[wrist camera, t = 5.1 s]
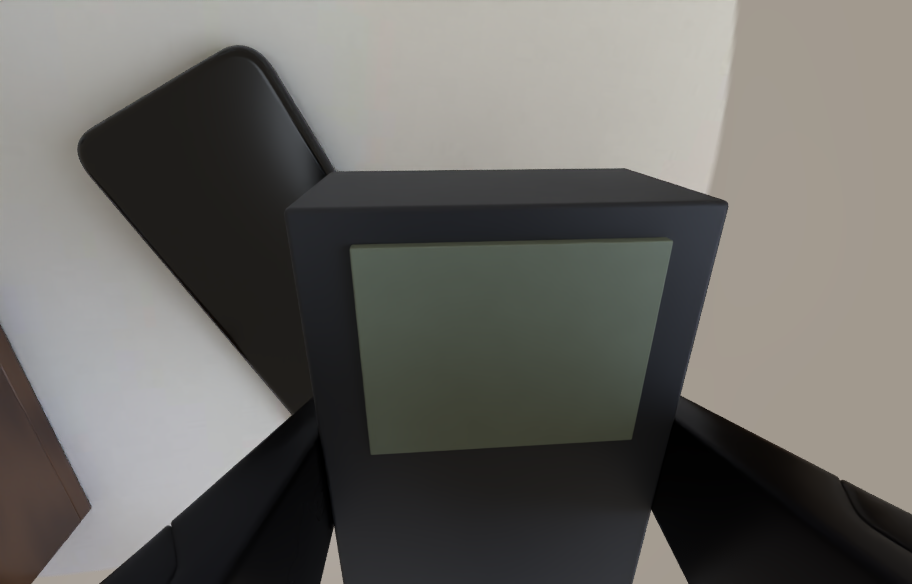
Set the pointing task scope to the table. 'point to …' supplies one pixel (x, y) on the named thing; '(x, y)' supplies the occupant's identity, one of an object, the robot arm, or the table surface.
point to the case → (31, 479)
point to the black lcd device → (497, 364)
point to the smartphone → (220, 199)
